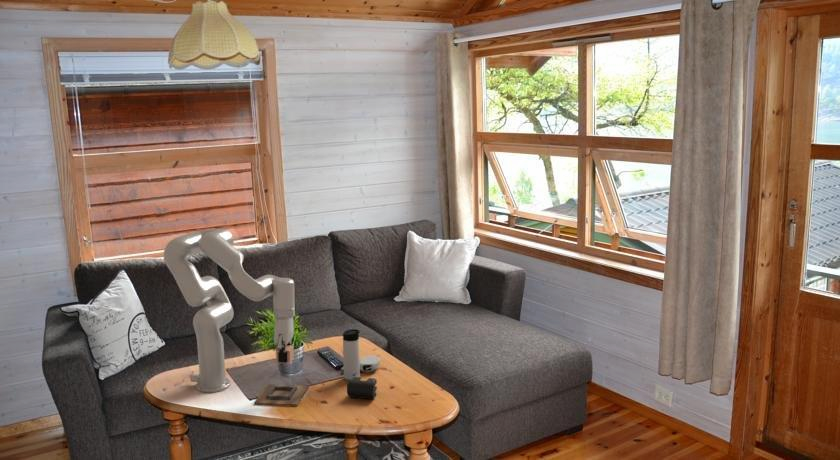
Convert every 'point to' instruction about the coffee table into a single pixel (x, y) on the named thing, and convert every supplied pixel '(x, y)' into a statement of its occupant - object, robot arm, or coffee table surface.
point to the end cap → (362, 388)
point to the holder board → (281, 395)
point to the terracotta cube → (289, 353)
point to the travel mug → (351, 354)
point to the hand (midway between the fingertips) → (285, 358)
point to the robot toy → (368, 363)
